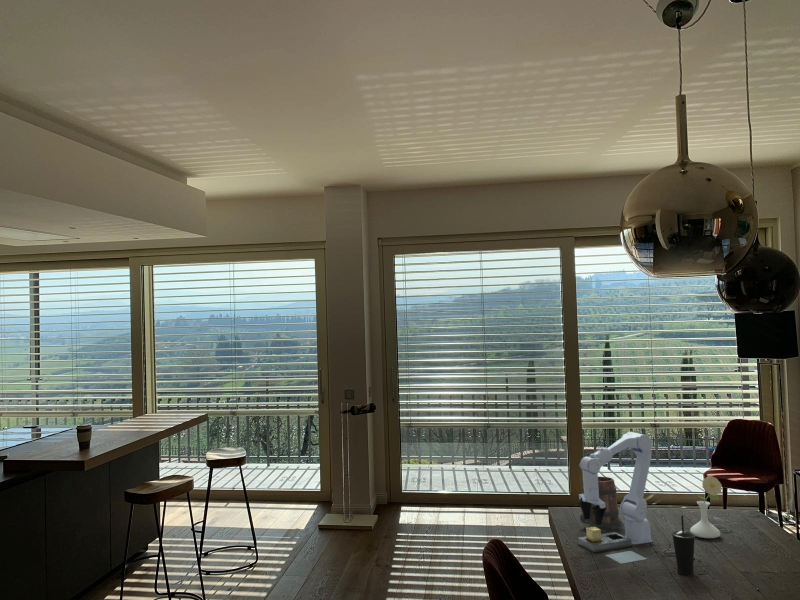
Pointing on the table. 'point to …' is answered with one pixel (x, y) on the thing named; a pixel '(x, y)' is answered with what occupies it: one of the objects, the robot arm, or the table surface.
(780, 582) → the table surface
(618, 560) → the pale flat rectangular plate
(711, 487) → the flower in vase
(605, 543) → the grey socket tray
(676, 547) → the drinking cup
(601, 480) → the tankard
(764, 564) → the table surface
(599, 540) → the beige rectangular block
